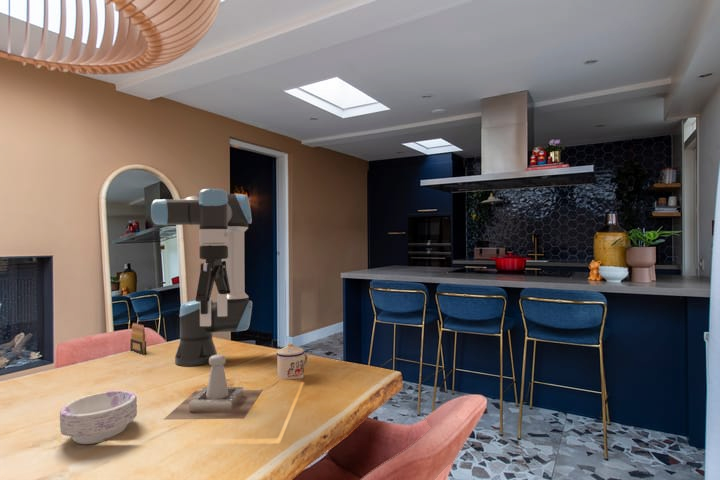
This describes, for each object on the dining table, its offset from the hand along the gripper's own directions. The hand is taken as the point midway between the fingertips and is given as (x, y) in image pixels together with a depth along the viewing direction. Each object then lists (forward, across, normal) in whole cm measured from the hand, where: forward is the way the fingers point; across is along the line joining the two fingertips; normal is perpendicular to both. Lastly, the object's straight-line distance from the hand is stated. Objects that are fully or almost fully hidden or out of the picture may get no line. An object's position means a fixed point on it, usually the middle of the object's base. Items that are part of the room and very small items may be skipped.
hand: (214, 321), depth 114 cm
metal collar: (+22, -2, -1) cm, 22 cm away
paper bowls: (+23, -18, +21) cm, 36 cm away
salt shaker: (+22, -2, -1) cm, 22 cm away
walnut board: (+23, -2, -2) cm, 23 cm away
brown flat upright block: (+24, +58, +52) cm, 82 cm away
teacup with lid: (+24, +22, -19) cm, 38 cm away
